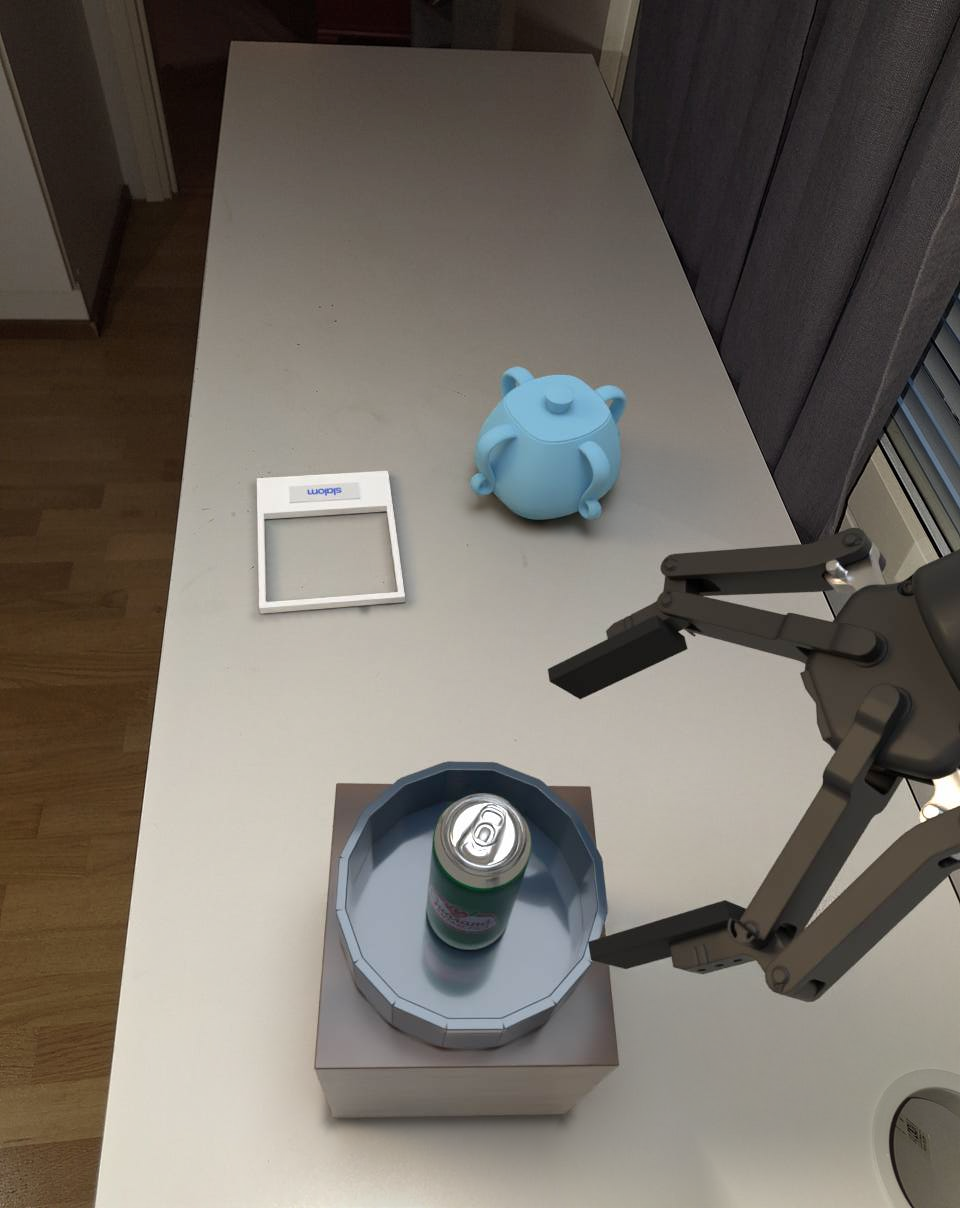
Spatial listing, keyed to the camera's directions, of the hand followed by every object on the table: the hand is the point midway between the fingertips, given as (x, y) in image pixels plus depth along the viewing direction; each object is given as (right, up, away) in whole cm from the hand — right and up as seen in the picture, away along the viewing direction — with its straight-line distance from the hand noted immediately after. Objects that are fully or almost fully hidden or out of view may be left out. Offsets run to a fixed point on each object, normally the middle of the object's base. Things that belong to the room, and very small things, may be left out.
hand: (582, 807), depth 43 cm
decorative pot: (+2, +24, +62) cm, 67 cm away
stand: (-7, -21, +28) cm, 36 cm away
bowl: (-6, -9, +12) cm, 16 cm away
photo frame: (-21, +16, +54) cm, 61 cm away
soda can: (-6, -9, +12) cm, 16 cm away
